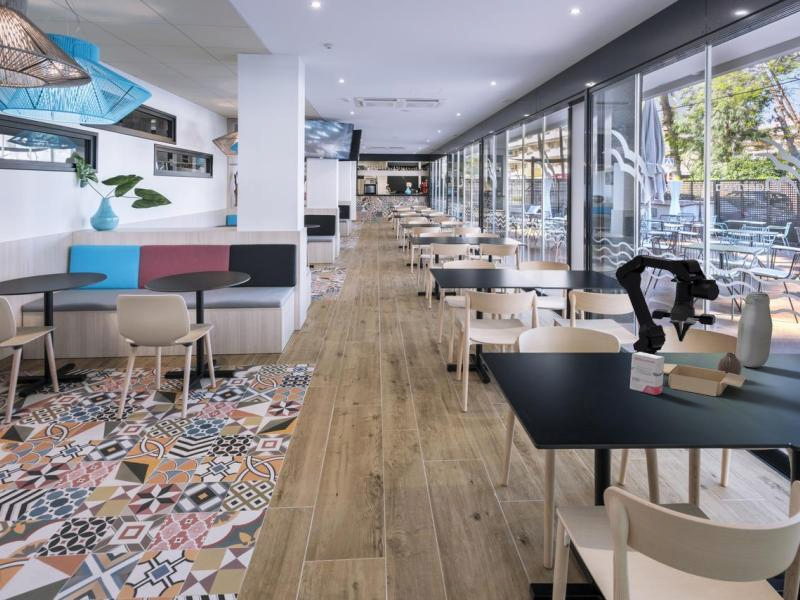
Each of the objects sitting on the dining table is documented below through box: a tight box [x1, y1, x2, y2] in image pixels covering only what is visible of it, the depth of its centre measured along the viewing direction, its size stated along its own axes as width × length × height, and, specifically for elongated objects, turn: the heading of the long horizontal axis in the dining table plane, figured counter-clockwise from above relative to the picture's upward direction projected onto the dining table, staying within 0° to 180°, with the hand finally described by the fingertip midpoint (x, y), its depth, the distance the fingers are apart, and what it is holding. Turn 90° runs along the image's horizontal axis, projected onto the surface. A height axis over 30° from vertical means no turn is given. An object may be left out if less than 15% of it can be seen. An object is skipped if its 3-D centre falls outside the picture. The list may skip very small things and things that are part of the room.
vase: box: [717, 352, 742, 375], centre depth 187 cm, size 7×7×9 cm
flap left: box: [663, 362, 679, 375], centre depth 185 cm, size 1×12×5 cm
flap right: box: [722, 373, 747, 388], centre depth 173 cm, size 1×12×5 cm
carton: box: [667, 364, 728, 397], centre depth 179 cm, size 15×17×4 cm
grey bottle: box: [735, 291, 773, 369], centre depth 200 cm, size 10×10×28 cm
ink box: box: [629, 352, 665, 396], centre depth 174 cm, size 9×5×12 cm, turn 39°
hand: (680, 341), depth 188 cm, fingers closed
